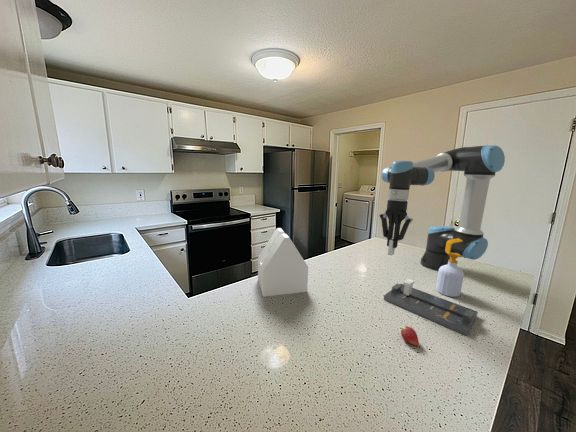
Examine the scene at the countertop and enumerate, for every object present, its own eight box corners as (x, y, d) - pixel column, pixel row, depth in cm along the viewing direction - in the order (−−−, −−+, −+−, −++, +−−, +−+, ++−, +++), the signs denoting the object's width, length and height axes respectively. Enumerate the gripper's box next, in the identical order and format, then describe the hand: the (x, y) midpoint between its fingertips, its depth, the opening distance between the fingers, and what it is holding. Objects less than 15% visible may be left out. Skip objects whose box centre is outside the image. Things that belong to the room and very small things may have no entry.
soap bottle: (464, 298, 99) (474, 243, 94) (440, 296, 101) (449, 241, 96) (454, 288, 108) (463, 237, 103) (432, 286, 110) (440, 235, 105)
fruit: (413, 350, 70) (415, 335, 69) (396, 337, 75) (398, 323, 74) (422, 346, 72) (424, 331, 71) (405, 333, 77) (407, 320, 76)
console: (400, 287, 107) (401, 279, 107) (476, 316, 87) (478, 306, 86) (383, 299, 97) (384, 290, 96) (466, 335, 77) (468, 324, 76)
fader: (406, 290, 100) (408, 278, 99) (412, 292, 98) (414, 280, 97) (402, 294, 97) (403, 282, 96) (408, 296, 95) (409, 284, 94)
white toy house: (263, 296, 97) (263, 238, 92) (258, 280, 111) (258, 228, 106) (307, 291, 102) (309, 236, 97) (296, 276, 116) (298, 227, 111)
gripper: (378, 198, 98) (372, 252, 103) (410, 202, 89) (402, 261, 93) (386, 197, 103) (380, 248, 108) (418, 201, 94) (410, 256, 98)
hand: (390, 254), depth 101 cm, fingers closed
